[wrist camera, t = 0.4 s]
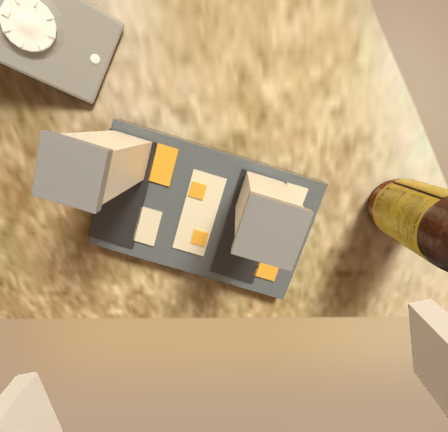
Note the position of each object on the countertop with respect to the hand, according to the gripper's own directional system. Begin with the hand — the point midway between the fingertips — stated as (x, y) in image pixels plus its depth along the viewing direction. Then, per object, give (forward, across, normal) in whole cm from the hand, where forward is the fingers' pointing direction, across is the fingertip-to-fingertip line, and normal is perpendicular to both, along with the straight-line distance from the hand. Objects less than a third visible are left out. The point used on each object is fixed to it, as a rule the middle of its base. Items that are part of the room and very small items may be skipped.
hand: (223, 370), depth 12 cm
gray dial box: (+28, -14, +20) cm, 37 cm away
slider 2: (+25, +4, 0) cm, 25 cm away
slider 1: (+25, -9, +7) cm, 28 cm away
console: (+27, -3, -1) cm, 28 cm away
